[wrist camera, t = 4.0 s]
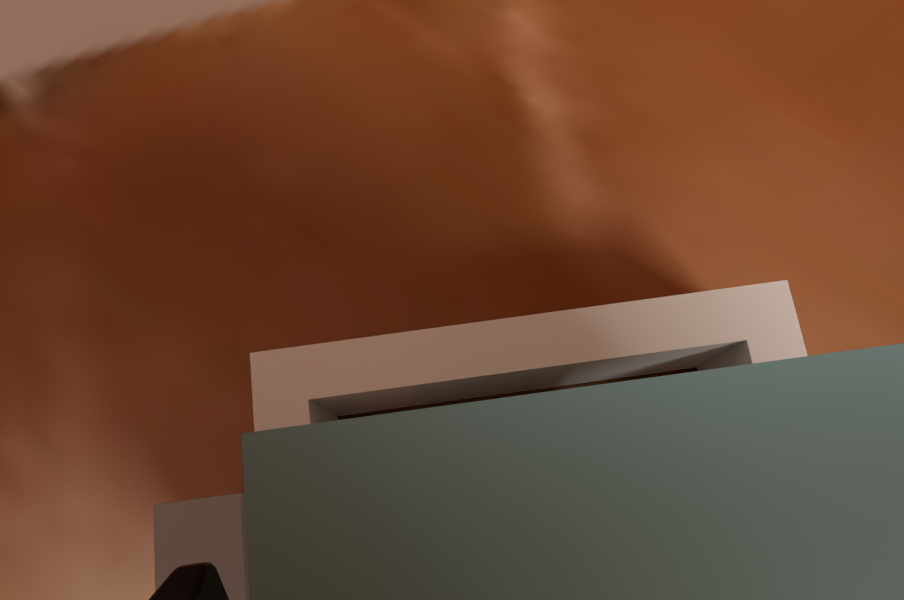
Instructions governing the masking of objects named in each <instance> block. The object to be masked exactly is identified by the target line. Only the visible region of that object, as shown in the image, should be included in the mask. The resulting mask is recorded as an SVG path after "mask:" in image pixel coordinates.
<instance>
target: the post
mask: <svg viewBox="0 0 904 600" xmlns="http://www.w3.org/2000/svg"><path fill="white" fill-rule="evenodd" d="M241 449H242V468H243V486H244V504H245V522H246V541H247V559H248V577H249V595H250V600H904V343H900V344H893V345H886V346H878V347H871V348H864V349H856V350H849V351H842V352H834V353H827V354H820V355H812V356H805V357H798V358H790V359H783V360H776V361H768V362H761V363H754V364H746V365H739V366H732V367H724V368H717V369H710V370H702V371H695V372H688V373H680V374H673V375H666V376H658V377H651V378H644V379H636V380H629V381H622V382H614V383H607V384H600V385H592V386H585V387H578V388H570V389H563V390H556V391H548V392H541V393H534V394H526V395H519V396H512V397H504V398H497V399H490V400H482V401H475V402H468V403H460V404H453V405H446V406H438V407H431V408H424V409H416V410H409V411H402V412H394V413H387V414H380V415H372V416H365V417H358V418H350V419H343V420H336V421H328V422H321V423H314V424H306V425H299V426H292V427H284V428H277V429H270V430H262V431H255V432H248V433H241Z"/></svg>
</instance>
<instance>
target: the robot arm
mask: <svg viewBox="0 0 904 600" xmlns="http://www.w3.org/2000/svg"><path fill="white" fill-rule="evenodd" d="M149 600H229V598H228V595H227V593H226V590H225V588H224V586H223V583H222V581H221V578H220V576H219V574H218V571H217V569H216V567H215V566H214V565H213V564H212V563H210V562H202V563H195V564H188V565H182V566H179V567H177V568H176V569H175V570H173V571H172V572H171V574H170V575H169V576H168V577H167V578H166V580H165V581H164V582H163V583H162V584H161V586H160V587H159V588H158V589H157V590H156V592H155V593H154V594H153V595H152V596H151V598H150V599H149Z"/></svg>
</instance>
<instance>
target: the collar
mask: <svg viewBox="0 0 904 600" xmlns="http://www.w3.org/2000/svg"><path fill="white" fill-rule="evenodd" d="M805 356H807V352H806V348H805V345H804V341H803V337H802V333H801V330H800V326H799V322H798V318H797V315H796V311H795V307H794V303H793V300H792V296H791V292H790V288H789V285H788V281H787V280H784V281H777V282H769V283H762V284H755V285H747V286H740V287H732V288H725V289H718V290H710V291H703V292H696V293H688V294H681V295H673V296H666V297H659V298H651V299H644V300H636V301H629V302H622V303H614V304H607V305H599V306H592V307H585V308H577V309H570V310H562V311H555V312H548V313H540V314H533V315H526V316H518V317H511V318H503V319H496V320H489V321H481V322H474V323H466V324H459V325H452V326H444V327H437V328H429V329H422V330H415V331H407V332H400V333H393V334H385V335H378V336H370V337H363V338H356V339H348V340H341V341H333V342H326V343H319V344H311V345H304V346H296V347H289V348H282V349H274V350H267V351H259V352H252V353H250V366H251V383H252V400H253V417H254V432H255V431H262V430H270V429H277V428H284V427H292V426H299V425H306V424H314V423H321V422H328V421H336V420H338V416H345V415H352V414H360V413H367V412H374V411H382V410H389V409H396V408H404V407H411V406H418V405H426V404H433V403H440V402H448V401H455V400H462V399H470V398H477V397H484V396H492V395H499V394H506V393H514V392H521V391H528V390H536V389H543V388H550V387H558V386H565V385H572V384H580V383H587V382H594V381H602V380H609V379H616V378H624V377H631V376H638V375H646V374H653V373H660V372H668V371H675V370H682V369H690V368H697V371H702V370H710V369H717V368H724V367H732V366H739V365H746V364H754V363H761V362H768V361H776V360H783V359H790V358H798V357H805ZM154 545H155V589H156V590H157V589H158V588H159V587H160V586H161V584H162V583H163V582H164V581H165V580H166V578H167V577H168V576H169V575H170V574H171V572H172V571H173V570H175V569H176V568H177V567H179V566H182V565H188V564H195V563H202V562H210V563H212V564H213V565H214V566H215V567H216V569H217V571H218V574H219V576H220V578H221V581H222V583H223V586H224V588H225V590H226V593H227V595H228V598H229V600H250V595H249V577H248V559H247V541H246V522H245V504H244V493H235V494H228V495H221V496H213V497H206V498H199V499H191V500H184V501H177V502H170V503H162V504H155V505H154Z"/></svg>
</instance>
